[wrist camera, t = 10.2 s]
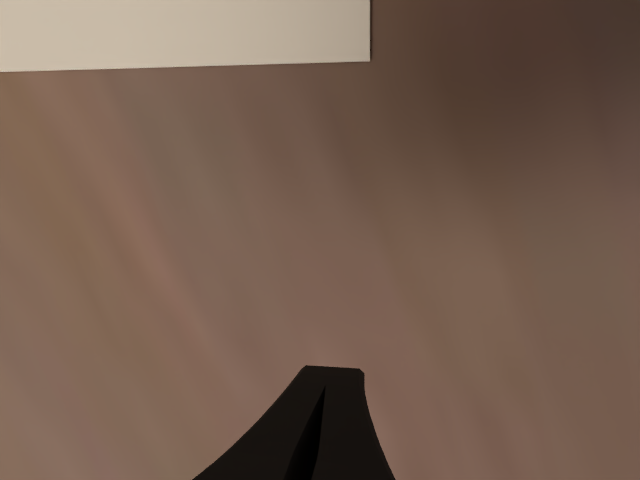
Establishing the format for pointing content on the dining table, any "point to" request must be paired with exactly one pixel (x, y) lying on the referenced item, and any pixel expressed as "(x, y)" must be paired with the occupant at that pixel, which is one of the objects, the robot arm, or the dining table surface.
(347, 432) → the robot arm
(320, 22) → the mat
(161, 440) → the dining table surface
